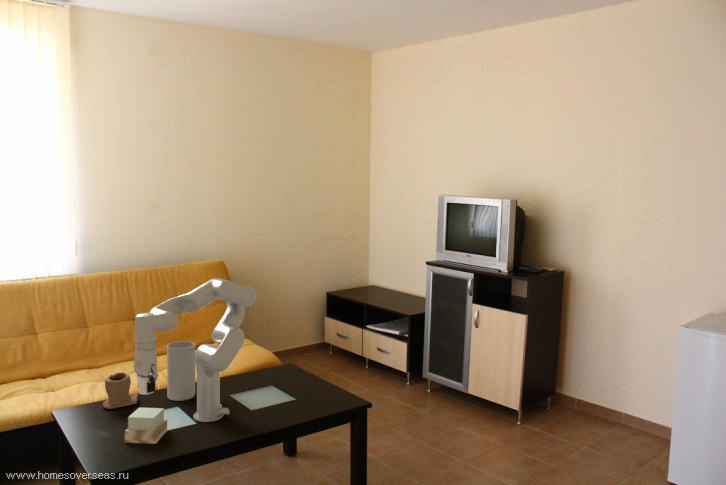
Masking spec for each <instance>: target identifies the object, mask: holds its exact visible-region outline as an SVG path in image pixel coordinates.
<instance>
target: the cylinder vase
mask: <svg viewBox="0 0 726 485" xmlns="http://www.w3.org/2000/svg"><path fill="white" fill-rule="evenodd" d="M195 352H196V343H195V342H194V341H190V340H180V341H173V342H170V343H168V344H167V345H166V375H167V376H166V377H167V378H166V386H167V389H166V394H167V398H168V400H171V401H176V402H182V401H189V400H191V399H192V398H194V397H195V396H196V364H195Z"/></svg>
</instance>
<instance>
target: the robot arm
mask: <svg viewBox="0 0 726 485" xmlns="http://www.w3.org/2000/svg"><path fill="white" fill-rule="evenodd" d="M257 297H258V294H257V291H256V290H255V288H253V287H251V286H249V285H246V284H240V283H237V282H234V281H231V280H227V279H224V278H219V277H215V278H211V279H209V280H208V281H206V282H204V283H202V284H201V285H199V286H198V287H196V288H194V289H192V290H191V291H189V292H187V293H185V294H181V295H179V296H174V297H173V298H170V299H167V300H165V301H163V302H162V303H160V304H158V305H156V306H155V307H153V308H152V309H151V310H150V311H149V312H141V313H138V314H136V316H135V318H134V319H135V320H134V326H135V327H134V330H135V331H134V333H135V339H134V340H135V349H134V356H133V371H134V372H135V373H136V376H137V375H138V374H140V375H143V376H147V380H148V383H147V393H150V392H153V393H154V392H155V391H156V381H157V378H158V377H159V373H158V357H157V351H156V349H157V332H167V331H171V330H173V329H175V328H176V327H177V325H178V323H179V318H178V317H177V315H180V314H185V313H192V312H193V313H194V312H197V311H200V310H202V309H205V307H206V306H208V305H210V304H211V303H213V302H215V301H216V300H218V299H219V300H222V301H225V302H226V309H225V312H224V314H222V315H223V316H222V317H221V318H220V319H219V321H218V323H217V324H216V326H215V327H214V328H213V331H212V332H211V337H210V338H211V340H212V341H213V342H214V344H217V345H219V346H216V345H214V344H211V343H203V344H200V346H199V345H198V347H197V348H196V349H195V371H196V411H195V412H194V413H193V417H192V418H193V419H194V421H197V422H201V423H210V422H211V423H212V422H216V421H219V420H221V419H222V418H223V417H224V415H230V409H229V408H228V407H223V405H222V404H221V395H220V394H221V393H220V392H221V389H220V388H221V386H220V385H221V375H220V372H223V371H225V370H227V369H228V368H229V367H230V366H231V364H232V362H233V361H234V360H235V358H236V356H237V355H238V354H239V352H240V350H241V348H242V346H243V345H244V341H245V333H244V331H243V329H241V328H240V326H241V324H242V323H243V321H244V318H245V315H246V314H245V313H246V312H245V311H246V309H245V307H249V306H253V304H255V302H256V301H257ZM150 373H152V374H150ZM150 376H153V377H151V379H150Z"/></svg>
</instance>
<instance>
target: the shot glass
mask: <svg viewBox="0 0 726 485" xmlns="http://www.w3.org/2000/svg"><path fill="white" fill-rule="evenodd" d="M150 374H152V373H150ZM151 377H153V376H150V379H151ZM136 378H137V379H136V381H137V389H138V395H144V396H145V395H151V394H153V393H154V392H150V393H147V383H148V380H147V376H143V375H140V374H138V375H137V374H136Z"/></svg>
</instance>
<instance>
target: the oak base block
mask: <svg viewBox="0 0 726 485" xmlns="http://www.w3.org/2000/svg"><path fill="white" fill-rule="evenodd" d="M167 432H168V419H164V421H163V422H162V423H161V424H160V425H159V426H158V427H157V428H156V429H155V430H154V431H147V430H128V427H127V428H126V429H125V430H124V443H127V444H128V443H129V444H149V445H151V444H153V445H154V444H157V443H158V441H160V440H161V438H162V437H163V436H164V435H165V434H166V433H167Z"/></svg>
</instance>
